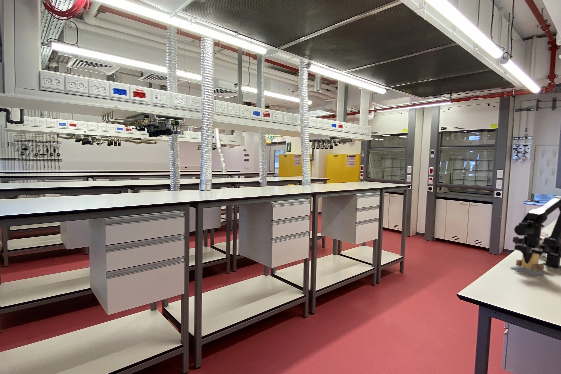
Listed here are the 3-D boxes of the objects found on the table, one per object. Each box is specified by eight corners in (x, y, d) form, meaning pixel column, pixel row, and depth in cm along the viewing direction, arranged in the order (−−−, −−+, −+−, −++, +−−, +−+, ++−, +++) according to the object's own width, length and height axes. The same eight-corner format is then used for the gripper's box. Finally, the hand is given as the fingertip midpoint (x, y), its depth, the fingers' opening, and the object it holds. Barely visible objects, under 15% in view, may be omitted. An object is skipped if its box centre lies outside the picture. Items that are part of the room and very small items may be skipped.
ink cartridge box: (528, 252, 192) (531, 229, 191) (537, 253, 191) (540, 230, 190) (536, 256, 184) (539, 233, 183) (546, 257, 183) (549, 233, 182)
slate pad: (520, 267, 162) (521, 266, 162) (543, 275, 152) (544, 273, 152) (510, 268, 160) (510, 267, 160) (533, 276, 149) (533, 275, 149)
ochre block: (527, 265, 166) (529, 251, 165) (537, 268, 161) (539, 254, 160) (521, 266, 164) (523, 252, 164) (531, 269, 160) (533, 254, 159)
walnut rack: (526, 264, 168) (526, 258, 168) (543, 269, 160) (544, 264, 160) (515, 265, 166) (516, 259, 165) (532, 270, 158) (533, 265, 157)
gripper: (529, 230, 172) (525, 257, 173) (505, 232, 166) (502, 259, 167) (551, 235, 161) (548, 263, 163) (527, 237, 155) (524, 266, 157)
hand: (529, 262), depth 163 cm, fingers closed on ochre block, 5 cm apart
